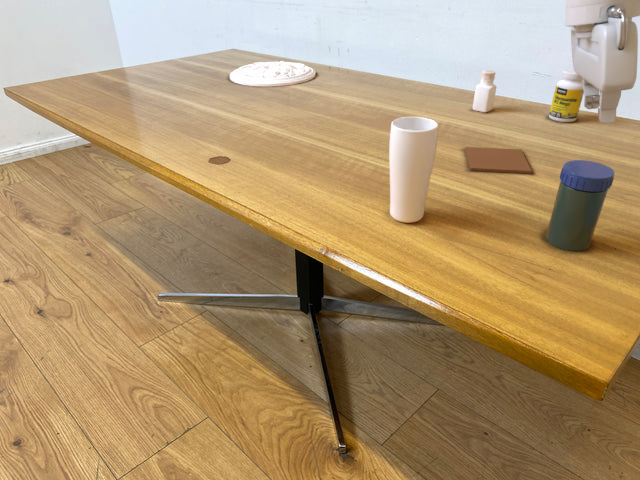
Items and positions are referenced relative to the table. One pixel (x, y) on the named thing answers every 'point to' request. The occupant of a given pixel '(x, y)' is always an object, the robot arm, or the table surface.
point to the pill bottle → (567, 97)
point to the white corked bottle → (485, 92)
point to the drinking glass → (411, 166)
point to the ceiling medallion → (272, 74)
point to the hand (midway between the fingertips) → (598, 114)
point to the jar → (574, 218)
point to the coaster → (497, 160)
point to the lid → (587, 175)
